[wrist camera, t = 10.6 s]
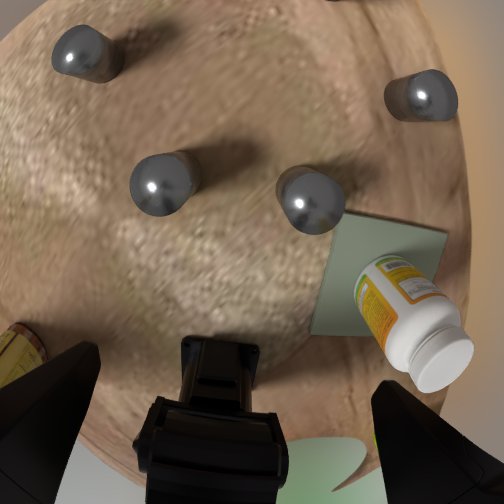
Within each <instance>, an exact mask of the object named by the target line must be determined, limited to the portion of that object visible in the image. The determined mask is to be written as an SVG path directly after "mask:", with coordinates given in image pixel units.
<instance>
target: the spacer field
mask: <svg viewBox="0 0 504 504" xmlns="http://www.w3.org/2000/svg"><path fill="white" fill-rule="evenodd" d="M327 1H339V0H327ZM124 62H125V52H124V50H123V48H122V47H121V46H120V45H118V44H117V43H115V42H114V41H112V40H111V39H109V38H108V37H106V36H104V35H103V34H101V33H100V32H98V31H97V30H95V29H93V28H92V27H90V26H88V25H78V26H75V27H73V28H71V29H69V30H68V31H67V32H65V33H64V34H63V35H62V36H61V37H60V39H59V40H58V42H57V43H56V45H55V47H54V50H53V53H52V65H53V68H54V69H55V70H56V71H57V72H59V73H62V74H66V75H70V76H73V77H77V78H80V79H84V80H87V81H91V82H94V83H105V82H108V81H110V80H112V79H113V78H114V77H115V76H117V74H118V73H119V72H120V71H121V69H122V67H123V65H124ZM384 101H385V104H386V107H387V109H388V110H389V112H390V113H391V114H392V115H393V116H394V117H395V118H396V119H398V120H400V121H404V122H411V121H448V120H450V119H452V118H453V117H454V115H455V114H456V112H457V108H458V97H457V93H456V90H455V87H454V85H453V84H452V82H451V81H450V79H449V78H448V77H447V76H446V75H445V74H444V73H442V72H440V71H438V70H434V69H430V70H426V71H422V72H419V73H416V74H412V75H409V76H406V77H402V78H399V79H396V80H393V81H391V82H390V83H388V85H387V86H386V88H385V91H384ZM201 181H202V169H201V166H200V164H199V162H198V161H197V159H196V158H195V157H194V156H192V155H191V154H189V153H187V152H182V151H175V152H169V153H163V154H157V155H152V156H149V157H147V158H145V159H143V160H142V161H141V162H139V163H138V165H137V166H136V167H135V168H134V170H133V172H132V175H131V178H130V193H131V196H132V199H133V201H134V202H135V204H136V205H137V206H138V208H139V209H141V210H142V211H143V212H145V213H147V214H149V215H152V216H157V217H162V216H167V215H170V214H172V213H174V212H176V211H177V210H178V209H179V208H180V207H181V206H182V205H183V204H184V203H185V202H186V201H187V200H188V199H189V198H190V197H191V196H192V195H193V194H194V193H195V192H196V191H197V189H198V188H199V186H200V184H201ZM276 196H277V199H278V201H279V203H280V205H281V207H282V209H283V210H284V212H285V214H286V216H287V218H288V220H289V221H290V223H291V224H292V225H293V226H294V227H295V228H296V229H297V230H299V231H301V232H303V233H306V234H310V235H318V234H323V233H326V232H328V231H330V230H331V229H333V228H334V227H335V226H336V225H337V224H338V223H339V221H340V220H341V218H342V216H343V214H344V211H345V196H344V192H343V190H342V188H341V187H340V185H339V184H338V183H337V182H336V181H335V180H334V179H333V178H331V177H329V176H327V175H325V174H322V173H320V172H318V171H316V170H313V169H311V168H309V167H305V166H294V167H291V168H289V169H287V170H285V171H284V172H283V173H282V174H281V175H280V177H279V179H278V181H277V184H276Z"/></svg>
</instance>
